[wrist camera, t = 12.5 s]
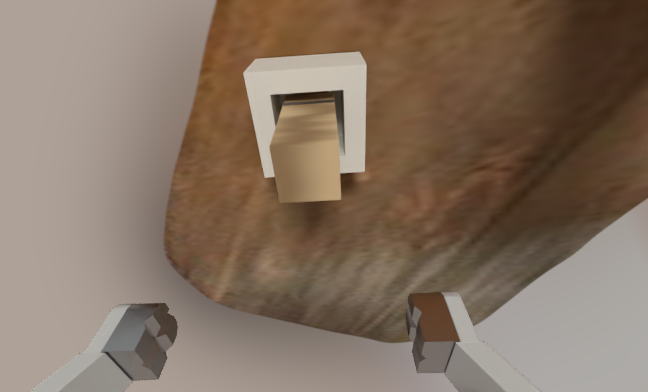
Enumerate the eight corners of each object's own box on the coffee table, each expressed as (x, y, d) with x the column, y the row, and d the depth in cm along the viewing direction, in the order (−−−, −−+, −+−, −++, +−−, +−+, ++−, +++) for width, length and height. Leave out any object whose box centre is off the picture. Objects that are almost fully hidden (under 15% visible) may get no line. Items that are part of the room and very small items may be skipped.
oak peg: (333, 84, 27) (339, 142, 17) (335, 127, 29) (341, 200, 20) (288, 87, 27) (268, 146, 17) (293, 130, 30) (279, 203, 20)
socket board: (359, 51, 26) (366, 64, 22) (359, 147, 31) (364, 171, 27) (255, 58, 26) (243, 72, 22) (272, 152, 31) (264, 177, 27)
